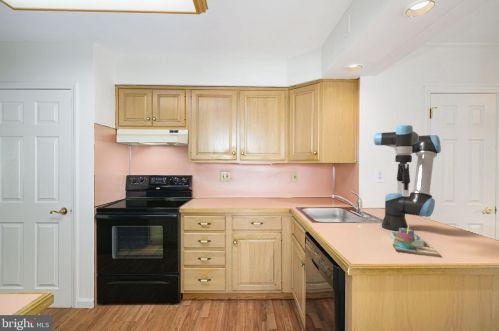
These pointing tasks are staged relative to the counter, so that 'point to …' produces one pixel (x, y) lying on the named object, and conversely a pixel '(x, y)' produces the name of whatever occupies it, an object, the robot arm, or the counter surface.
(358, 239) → the counter surface
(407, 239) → the cupcake
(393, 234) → the tray
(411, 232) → the die
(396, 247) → the board
